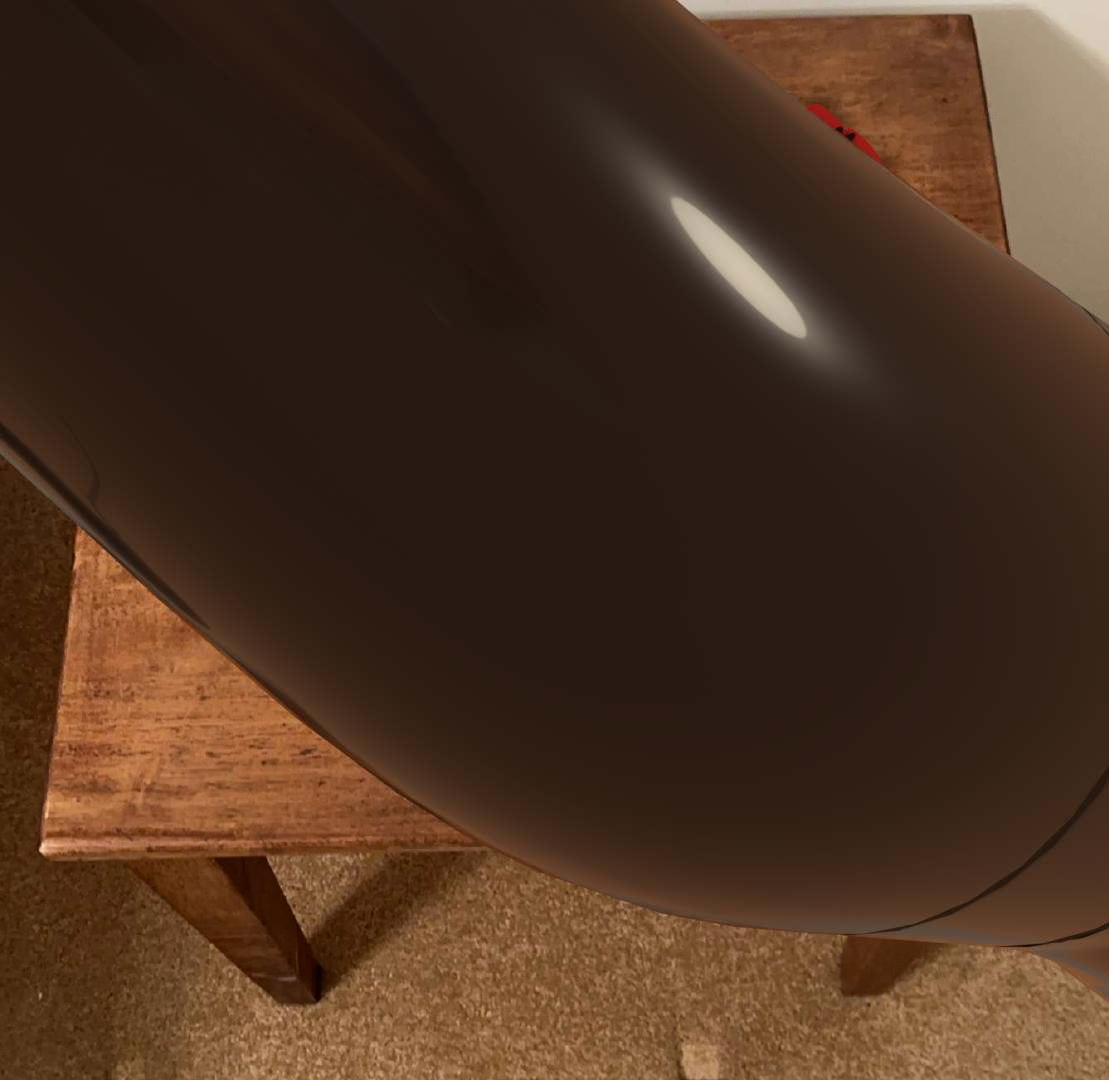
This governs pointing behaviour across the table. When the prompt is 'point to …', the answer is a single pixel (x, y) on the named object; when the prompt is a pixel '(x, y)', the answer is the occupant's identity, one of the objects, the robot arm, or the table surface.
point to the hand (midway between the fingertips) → (455, 463)
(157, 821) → the table surface
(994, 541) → the robot arm
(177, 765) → the table surface
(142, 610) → the table surface
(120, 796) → the table surface
